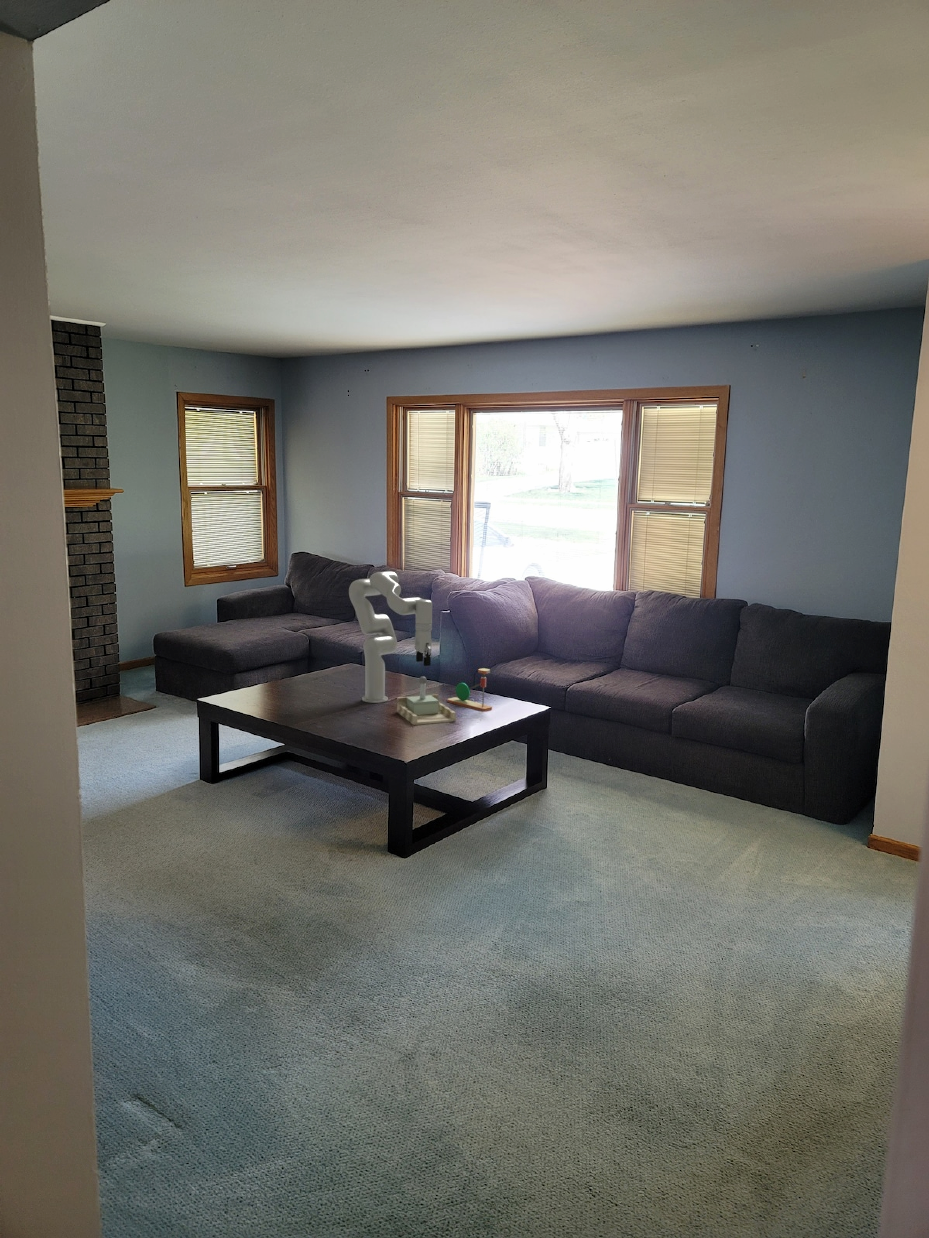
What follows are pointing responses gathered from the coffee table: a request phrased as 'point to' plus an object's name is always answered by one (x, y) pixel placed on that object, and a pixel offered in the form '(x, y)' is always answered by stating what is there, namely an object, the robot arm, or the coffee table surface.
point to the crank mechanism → (464, 693)
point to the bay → (442, 716)
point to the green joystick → (423, 701)
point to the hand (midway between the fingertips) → (423, 663)
